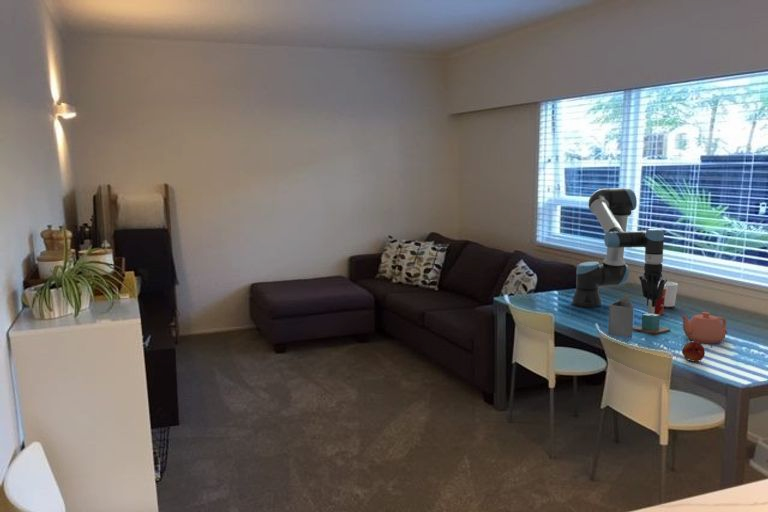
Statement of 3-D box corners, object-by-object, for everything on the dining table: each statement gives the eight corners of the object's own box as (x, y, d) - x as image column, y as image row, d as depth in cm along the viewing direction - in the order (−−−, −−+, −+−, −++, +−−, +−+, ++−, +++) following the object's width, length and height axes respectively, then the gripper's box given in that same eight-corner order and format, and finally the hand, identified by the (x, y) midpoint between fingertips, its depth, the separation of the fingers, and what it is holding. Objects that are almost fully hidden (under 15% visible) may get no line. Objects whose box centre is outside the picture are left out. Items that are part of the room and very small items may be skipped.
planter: (602, 328, 282) (603, 288, 280) (619, 328, 282) (621, 288, 279) (614, 338, 266) (616, 296, 263) (632, 338, 266) (634, 295, 263)
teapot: (689, 347, 252) (691, 318, 250) (668, 336, 267) (669, 309, 265) (738, 344, 254) (740, 315, 252) (714, 334, 269) (715, 307, 267)
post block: (630, 329, 279) (631, 317, 278) (647, 325, 285) (647, 313, 284) (653, 335, 269) (654, 322, 268) (670, 331, 275) (670, 318, 274)
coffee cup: (667, 315, 302) (668, 286, 300) (649, 315, 304) (651, 286, 302) (663, 311, 310) (664, 283, 308) (646, 311, 312) (647, 283, 310)
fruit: (682, 363, 232) (683, 343, 231) (680, 357, 239) (681, 337, 238) (705, 365, 229) (706, 345, 228) (702, 358, 237) (703, 339, 235)
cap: (641, 328, 277) (642, 314, 276) (648, 326, 280) (649, 312, 279) (651, 330, 273) (652, 316, 272) (658, 328, 276) (659, 315, 275)
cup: (671, 309, 314) (673, 286, 312) (653, 306, 321) (654, 283, 319) (679, 306, 320) (681, 283, 318) (661, 303, 328) (662, 280, 326)
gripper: (635, 261, 276) (633, 311, 279) (661, 265, 265) (658, 317, 268) (646, 260, 279) (644, 309, 283) (671, 263, 268) (669, 314, 272)
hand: (651, 313), depth 276 cm, fingers closed
